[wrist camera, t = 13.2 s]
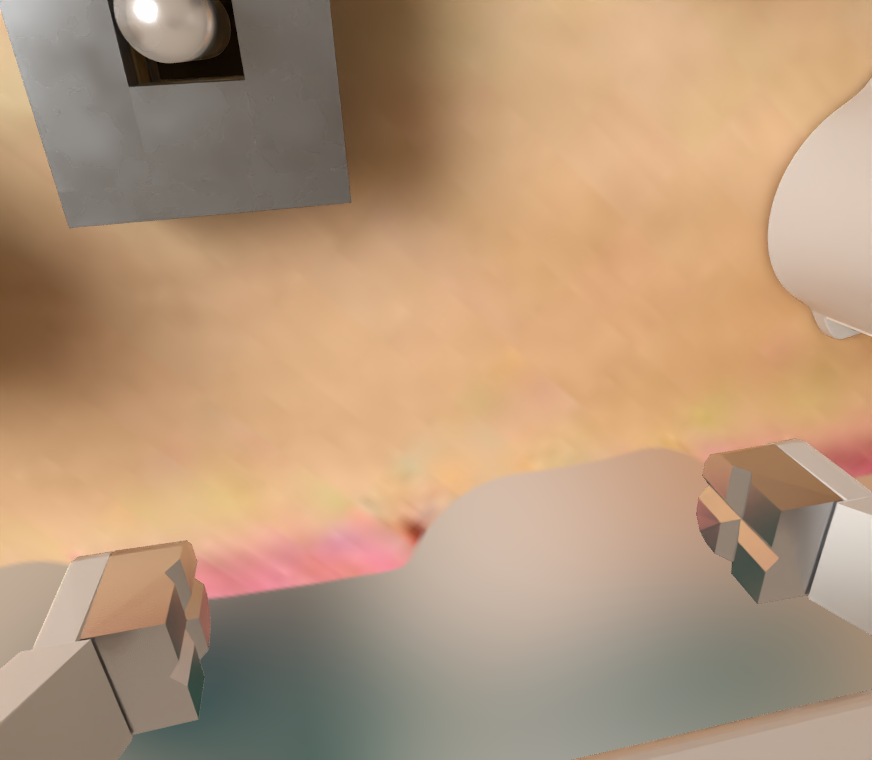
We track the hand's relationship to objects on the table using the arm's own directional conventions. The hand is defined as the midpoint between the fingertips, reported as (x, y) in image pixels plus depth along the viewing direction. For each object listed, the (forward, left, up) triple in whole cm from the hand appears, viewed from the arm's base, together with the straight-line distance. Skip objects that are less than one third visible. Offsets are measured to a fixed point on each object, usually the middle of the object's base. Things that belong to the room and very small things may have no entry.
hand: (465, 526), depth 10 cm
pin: (+6, -8, -29) cm, 31 cm away
